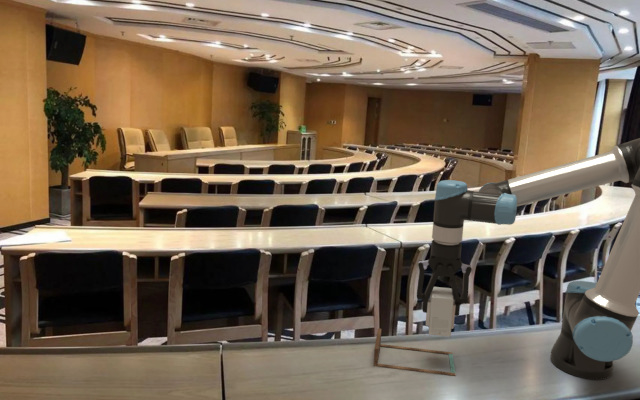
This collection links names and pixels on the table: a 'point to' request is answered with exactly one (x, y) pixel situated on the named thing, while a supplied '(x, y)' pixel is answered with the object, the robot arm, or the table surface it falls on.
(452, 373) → the bay
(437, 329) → the small box
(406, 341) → the table surface
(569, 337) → the robot arm
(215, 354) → the table surface
